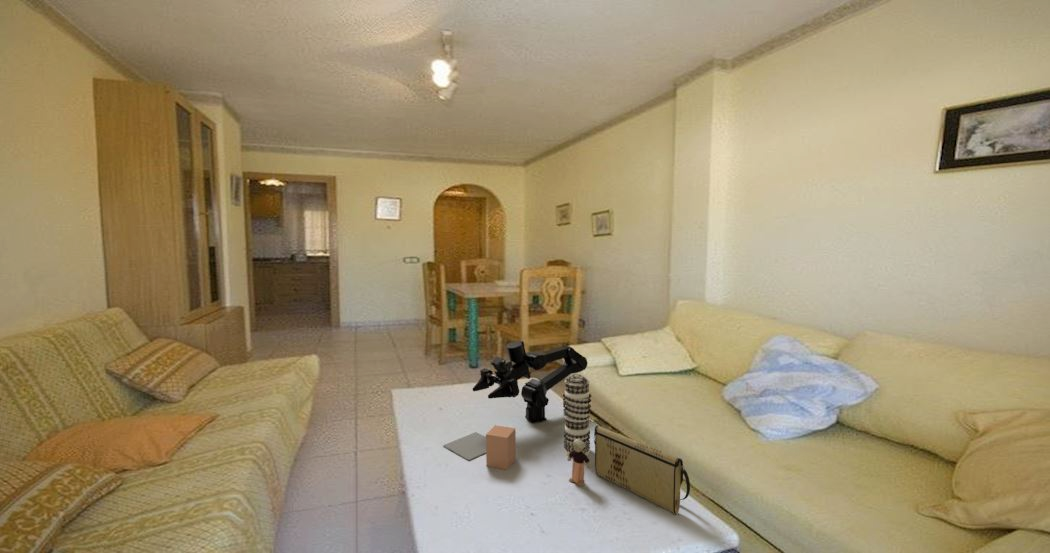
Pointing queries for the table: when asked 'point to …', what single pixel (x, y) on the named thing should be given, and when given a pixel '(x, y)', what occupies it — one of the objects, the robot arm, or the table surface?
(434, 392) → the table surface
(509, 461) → the tan cardboard box
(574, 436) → the decorative candle
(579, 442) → the grandmother figurine
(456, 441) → the rubber mat
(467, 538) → the table surface
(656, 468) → the clutch purse
